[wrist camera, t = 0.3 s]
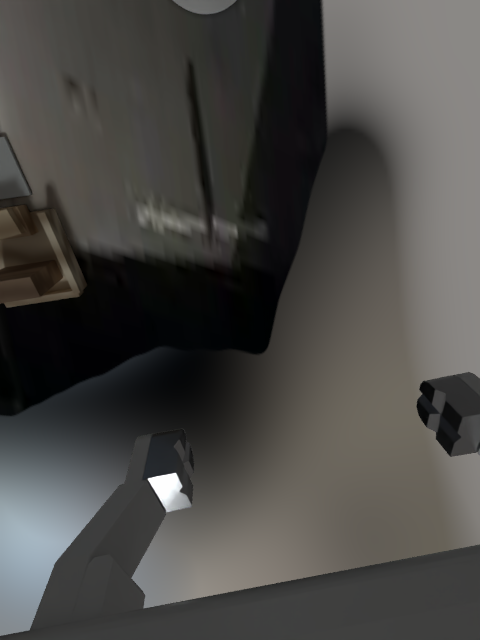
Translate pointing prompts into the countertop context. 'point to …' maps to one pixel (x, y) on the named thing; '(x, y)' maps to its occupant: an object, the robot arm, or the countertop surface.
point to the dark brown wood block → (28, 280)
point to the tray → (45, 257)
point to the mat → (11, 173)
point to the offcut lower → (23, 221)
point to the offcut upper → (10, 224)
